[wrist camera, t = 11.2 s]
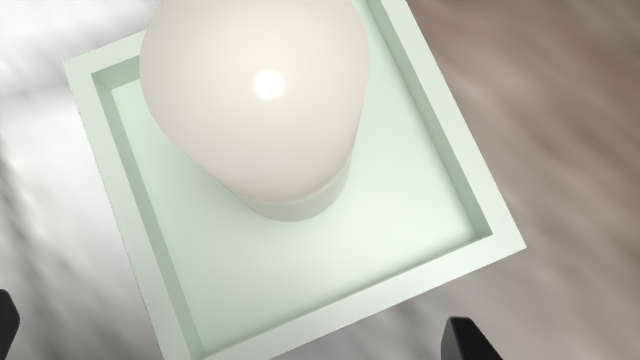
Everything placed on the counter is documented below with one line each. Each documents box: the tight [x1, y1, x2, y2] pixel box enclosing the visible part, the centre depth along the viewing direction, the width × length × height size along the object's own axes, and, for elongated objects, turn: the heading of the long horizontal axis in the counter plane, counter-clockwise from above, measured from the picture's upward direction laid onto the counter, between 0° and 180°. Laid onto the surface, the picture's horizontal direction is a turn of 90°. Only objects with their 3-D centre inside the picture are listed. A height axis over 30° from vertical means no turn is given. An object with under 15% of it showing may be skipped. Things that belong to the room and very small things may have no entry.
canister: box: [139, 0, 370, 222], centre depth 17 cm, size 6×6×11 cm
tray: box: [62, 0, 527, 360], centre depth 22 cm, size 15×15×2 cm
